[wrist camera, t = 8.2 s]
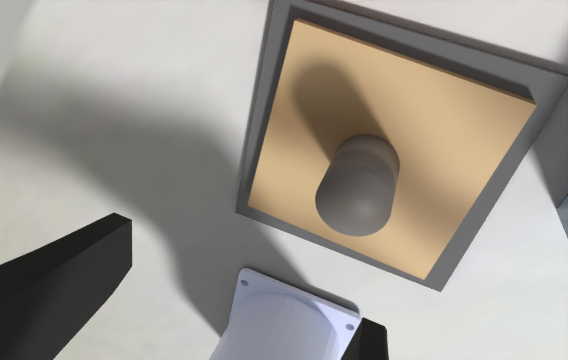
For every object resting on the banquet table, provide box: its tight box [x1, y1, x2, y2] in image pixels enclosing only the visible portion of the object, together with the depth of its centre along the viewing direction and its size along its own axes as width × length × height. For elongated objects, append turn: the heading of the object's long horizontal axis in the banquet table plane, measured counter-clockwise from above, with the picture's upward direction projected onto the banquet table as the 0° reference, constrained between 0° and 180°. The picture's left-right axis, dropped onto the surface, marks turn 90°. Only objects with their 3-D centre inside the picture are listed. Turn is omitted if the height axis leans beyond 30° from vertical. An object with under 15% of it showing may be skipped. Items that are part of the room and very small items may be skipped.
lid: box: [248, 18, 537, 280], centre depth 18 cm, size 10×10×4 cm
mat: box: [235, 0, 568, 292], centre depth 20 cm, size 12×12×1 cm
